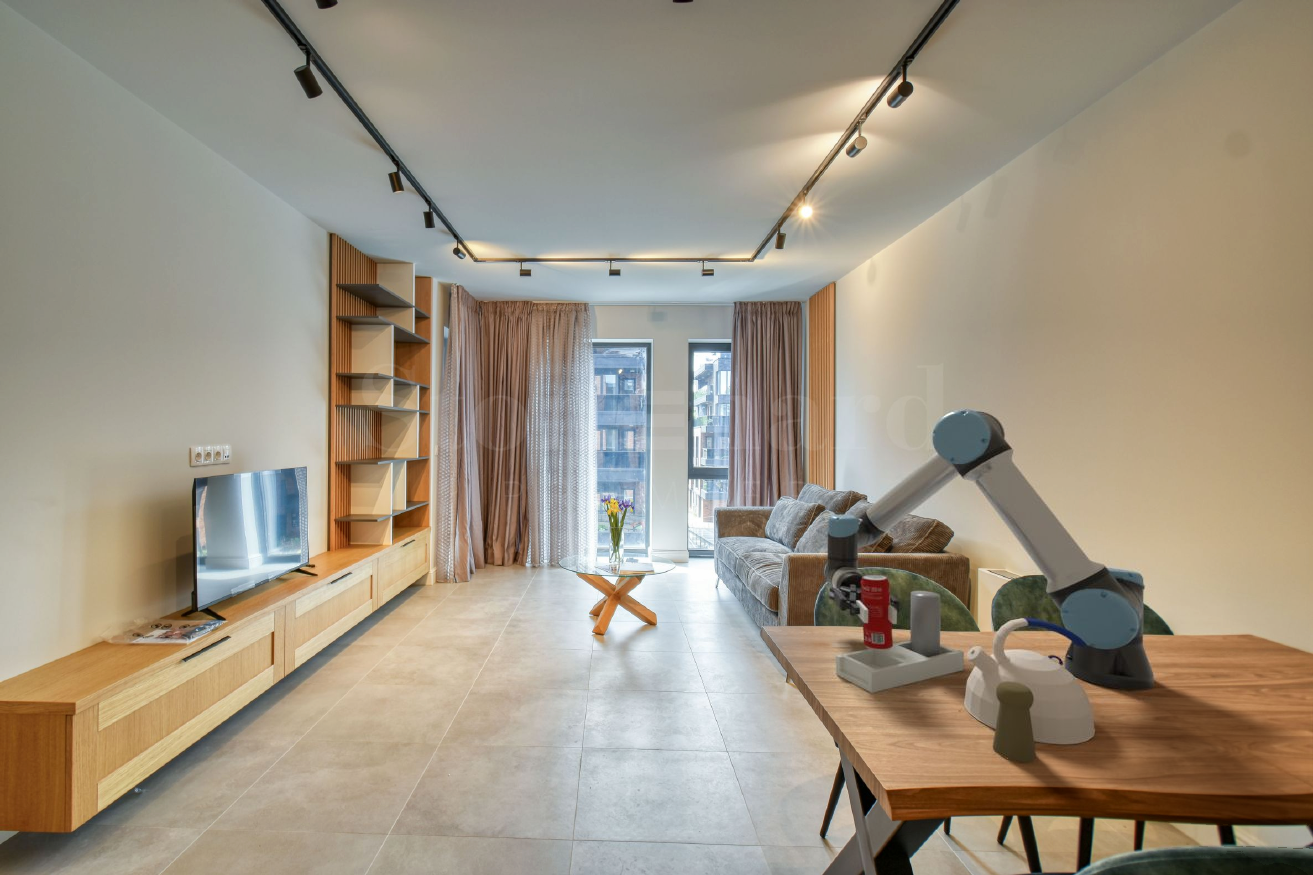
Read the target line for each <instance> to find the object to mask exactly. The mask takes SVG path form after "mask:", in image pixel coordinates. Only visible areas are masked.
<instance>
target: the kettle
mask: <svg viewBox="0 0 1313 875" xmlns="http://www.w3.org/2000/svg"><path fill="white" fill-rule="evenodd" d="M1021 627H1035V628H1042V629H1045V630H1049V631H1052V632H1054V633H1057V634H1059V635H1061V636H1063V637H1064V638H1066V639H1068V640H1070V642H1071V641H1072V642H1073V643H1074V644H1075V645H1077V646H1086V643H1085V642H1084V641H1083V640H1082V639H1081V638H1080V637H1079V636H1077V635H1076V634H1074V633H1073V632H1071V631H1069V630H1067V629H1066V627H1063V626H1061V625H1057V624H1055V623H1053V622H1049V621H1045V620H1041V619H1037V618H1029V617H1027V618H1026V617H1022V618H1018V619H1012V620H1009V621H1008V622H1005V624H1002V625H1001V626H1000V628H999V629H998V630H997V632H995V634H994V637H993V640H992V654H988V653H987V652H986V651H985V650H984V649H983V648H982V646H978V645H973V646H972V647H971V648H969V650H968V651H967V653H966V658H967V660H968V662H971V663H972V664H973V665H974V667H973V669H972V671H971V672H970V674H969V676H968V678H967V680H966V686H965V694H964V700H963V702H964V704H963V705H964V707H965V709H966V711H967V712H968V713H969V715H971V716H972V717H973V718H975V719H976V720H977V721H979V722H980V723H982V724H984V725H986V726H987V727H989V728H991V729H993V730H995V729H996V723H997V717H998V711H999V705H1000V702H999V700H998V698H997V695H996V689H997V686H998V685H999V684H1000V683H1001V682H1005V681H1011V682H1017V683H1020V684H1023V685H1025V686H1027V687H1028V688H1029V689H1030V690H1031V692H1032V694H1033V697H1034V701H1033V704H1032V707H1031V708H1029V709H1030V717H1031V724H1032V731H1033V738H1034V743H1035V742H1036V743H1041V744H1042V743H1043V744H1049V745H1061V746H1062V745H1077V744H1081V743H1085V742H1088V741H1089V740H1090V739H1092V738H1093V737H1094V736H1095V732H1096V729H1095V723H1094V722H1095V721H1094V714H1093V713H1094V712H1093V706H1092V703H1091V702H1090V699H1089V697H1088V695H1087V692H1086V691H1085V689H1084V687H1083V685H1081V683H1080V682H1079V681H1078V679H1077V678H1076V676H1074V675H1072V674H1071V673H1070V672H1069V671H1067V670H1066V669H1065V666H1063V665H1064V661H1063V660H1062V658H1060V656H1058V655H1054V654H1050V655H1048V656H1045V655H1043V654H1040V653H1038V652H1036V651H1032V650H1028V649H1005V644H1006V640H1007V637H1008V636H1010V634H1011V633H1012V632H1013V631H1015V630H1017V629H1018V628H1021ZM1055 659H1057V660H1058V662H1057V661H1056V660H1055Z"/></svg>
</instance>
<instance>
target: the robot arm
mask: <svg viewBox="0 0 1313 875" xmlns="http://www.w3.org/2000/svg"><path fill="white" fill-rule="evenodd" d="M931 437H932V438H931V440H932V446H933V448H934V450H935V452H934V453H933V454H932V455H931V456H930V457H928V458H927V459H926V460H925V461H924V462H923V463H921V464H920V465H919V466H918V467H917V468H916V469H914V470H913V471H911V472H910V473H909V474H907V476H906V477H904V479H902V480H901V481H900V482H898V483H897V484H896V485H895V486H894V487H893V488H891V489H890V490H889V491H888V492H887V493H885V494H884V495H883V496H882V497H881V498H879V499H878V500H876V502H874V504H872V505H871V506H870V507H869V508H868V509H866V510H865V511H864V512H862V513H861V514H860V515H859V516H858V517H856V516H855V515H851V514H832V515H830V516H828V518H827V519H828V521H827V528H826V532H827V557H826V558H827V559H826V564H825V565H824V569H823V574H824V577H825V580H826V582H827V584H828V585H829V586H830V587H829V594H828V595H829V596H828V597H829V600H831V601H833V602H834V603H835V605H836V606H837V607H838V609H839V610H840V611H841V612H846V611H847V610H849V615H850V616H856V615H857V616H858V618H860V620H861V621H862V623H863V622H864V623H868V609H867V608H866V607H865V606H864V605H863V604H862V598H861V580H862V576H863V575H864V574H862V573H861V572H860V571H859V568H858V566H859V565H858V564H859V557H858V556H859V549H861V548H863V547H868V546H872V545H874V544H876V543H877V542H879V541H880V540H881V539H882V537H883V535H884V534H886V533H887V532H888V531H890V529H892V528H893V527H895V525H897V524H898V523H899V522H900V521H902V520H903V519H904V518H906V517H907V516H908V515H909V514H911V513H912V512H914V510H916V509H917V508H918V507H920V506H921V505H922V504H924V503H925V502H926V501H928V500H929V499H930V498H931V497H933V496H934V495H935V494H937V493H938V492H939V491H940V490H942V489H943V488H945V486H947V485H948V484H949V483H951V482H952V481H953V480H954V479H956V478H957V477H958V476H960V477H961V478H962V479H963V480H967V481H971V482H974V484H976V486H977V487H978V489H979V490H980V491H981V493H982V494H983V495H984V497H985V498H986V499H987V501H988V502H989V504H990V505H991V506H992V508H993V509H994V511H995V512H996V513H997V514H998V516H999V517H1000V518H1001V520H1002V521H1003V522H1004V524H1005V525H1006V526H1007V528H1008V529H1009V530H1010V531H1011V533H1012V534H1013V536H1014V537H1015V538H1016V540H1017V541H1018V542H1019V544H1020V545H1021V546H1022V548H1023V549H1024V550H1025V552H1026V553H1027V555H1028V556H1029V558H1030V559H1031V561H1033V563H1034V564H1035V565H1036V567H1037V568H1038V570H1039V571H1040V572H1041V573H1042V575H1043V576H1044V577H1045V578H1046V580H1047V581H1046V582H1047V584H1046V585H1047V586H1046V589H1045V591H1046V593H1047V595H1048V596H1049V597H1050V598H1051V600H1052V601H1053V603H1054V604H1055V607H1057V608H1058V610H1059V611H1060V617H1061V622H1062V624H1063V626H1064V628H1065V629H1067V630H1069V631H1071V632H1073V633H1074V634H1076V635H1077V636H1079V637H1080V638H1081V639H1082V640H1083V641H1084V642H1085V643H1086V646H1077V645H1075V644H1074V643H1073V642H1072V641H1071V640H1070V643H1069V646H1068V649H1067V651H1066V653H1065V655H1064V668H1065V669H1066V670H1067V671H1069V672H1070V673H1071V674H1072V675H1073V676H1074V677H1075V678H1076V677H1077V678H1079V679H1081V680H1083V681H1086V682H1089V683H1092V684H1097V685H1099V686H1103V687H1109V688H1114V689H1119V690H1129V691H1131V690H1132V691H1142V690H1144V691H1145V690H1148V689H1151V688H1153V687H1154V680H1155V679H1154V678H1155V677H1154V672H1153V669H1152V666H1151V663H1150V661H1149V658H1148V655H1147V653H1146V650H1145V647H1144V590H1145V584H1144V577H1143V575H1142V573H1139V572H1136V571H1133V570H1127V569H1120V568H1113V567H1107V566H1106V565H1105V564H1103V563H1099V562H1096V561H1093V560H1090V557H1088V556H1087V555H1086V553H1085V552H1084V551H1083V549H1082V548H1081V547H1080V546H1079V544H1078V543H1077V542H1076V541H1075V539H1074V538H1073V537H1072V536H1071V534H1070V533H1069V531H1067V529H1066V528H1065V527H1064V525H1063V524H1062V523H1061V521H1060V520H1059V519H1058V518H1057V516H1056V515H1055V514H1054V512H1053V511H1052V510H1051V509H1050V508H1049V506H1048V505H1047V503H1045V501H1044V500H1043V499H1042V497H1041V496H1040V495H1039V493H1038V492H1037V491H1036V490H1035V488H1034V487H1033V485H1032V484H1031V483H1030V482H1029V481H1028V480H1027V478H1026V477H1025V476H1024V474H1023V473H1022V472H1021V471H1020V470H1019V468H1018V467H1017V466H1016V464H1015V463H1014V462H1013V455H1014V449H1013V448H1012V447H1011V446H1010V444H1009V443H1008V441H1007V440H1006V439H1005V437H1006V435H1005V430H1004V427H1003V425H1002V423H1001V422H1000V420H999V419H998V418H997V417H995V416H993V415H992V414H990V413H988V412H984V411H977V410H972V409H957V410H955V411H951V412H949V413H946V415H944V416H942V417H941V418H940V419H939V420H938V421H937V422H936V424H935V426H934V428H933V431H932V435H931ZM890 602H891V605H889V606H888V619H889V621H890V622H891V623H892V625H897V618H898V617H897V616H898V615H897V614H899V613H900V600H898V598H896V597H895V596H894V595H893V594H891V593H890Z"/></svg>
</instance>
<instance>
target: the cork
mask: <svg viewBox="0 0 1313 875" xmlns="http://www.w3.org/2000/svg"><path fill="white" fill-rule="evenodd" d="M996 695H997V698H998V700H999V702H1000V705H999V711H998V717H997V723H996V729H994V731H995V732H994V738H993V743H992V750H993V751H994V752H995V753H996V754H997V753H998V754H997V755H999V756H1000V755H1001V756H1000V757H1002V756H1003V757H1002V758H1004V757H1006V758H1005V759H1007V758H1008V759H1007V760H1009V759H1010V761H1014V762H1019V763H1026V764H1027V763H1033V762H1035V761H1036V759H1037V754H1036V747H1035V741H1034V738H1033V731H1032V724H1031V717H1030V709H1029V708H1031V707H1032V704H1033V701H1034V697H1033V694H1032V692H1031V690H1030V689H1029V688H1028V687H1027V686H1025V685H1023V684H1020V683H1017V682H1011V681H1005V682H1001V683H1000V684H999V685H998V686H997V689H996Z"/></svg>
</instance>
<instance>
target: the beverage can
mask: <svg viewBox="0 0 1313 875" xmlns="http://www.w3.org/2000/svg"><path fill="white" fill-rule="evenodd" d="M862 575H863V576H862V580H861V598H862V604H863V605H864V606H865V607H866V608H867V609H868V623H864V622H863V621H862V631H863V634H862V635H863V645H864V646H865V648H866V649H872V650H877V651H885V650H889V649H891V648H892V646H893V644H894V643H893V641H894V640H893V626H892V625H893V624H892V623H891V622H890V621H889V619H888V606H889V605H891V602H890V594H891V590H890V589H891V588H890V586H891V585H890V581H889V579H888V576H886V575H884V574H881V573H880V574H877V573H868V574H862Z"/></svg>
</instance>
